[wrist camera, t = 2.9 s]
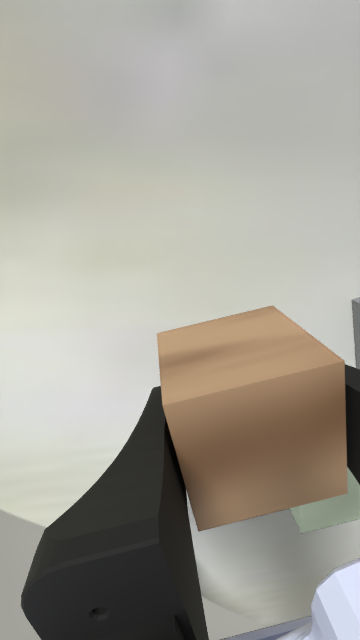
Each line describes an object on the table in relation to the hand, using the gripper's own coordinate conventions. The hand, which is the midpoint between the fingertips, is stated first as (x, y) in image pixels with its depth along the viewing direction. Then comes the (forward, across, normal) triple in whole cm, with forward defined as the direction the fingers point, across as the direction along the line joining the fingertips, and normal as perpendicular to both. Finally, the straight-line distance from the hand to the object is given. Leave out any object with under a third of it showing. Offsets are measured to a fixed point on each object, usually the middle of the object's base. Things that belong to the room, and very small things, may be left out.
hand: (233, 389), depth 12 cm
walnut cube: (+2, 0, 0) cm, 2 cm away
